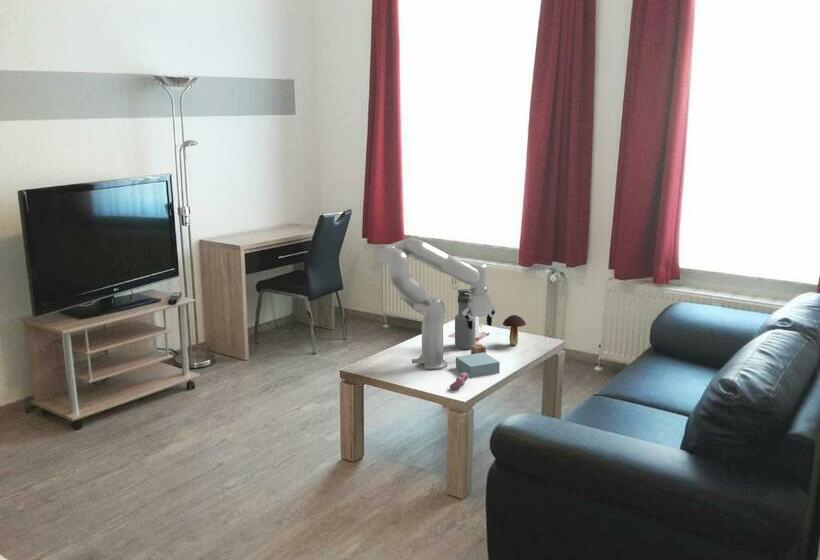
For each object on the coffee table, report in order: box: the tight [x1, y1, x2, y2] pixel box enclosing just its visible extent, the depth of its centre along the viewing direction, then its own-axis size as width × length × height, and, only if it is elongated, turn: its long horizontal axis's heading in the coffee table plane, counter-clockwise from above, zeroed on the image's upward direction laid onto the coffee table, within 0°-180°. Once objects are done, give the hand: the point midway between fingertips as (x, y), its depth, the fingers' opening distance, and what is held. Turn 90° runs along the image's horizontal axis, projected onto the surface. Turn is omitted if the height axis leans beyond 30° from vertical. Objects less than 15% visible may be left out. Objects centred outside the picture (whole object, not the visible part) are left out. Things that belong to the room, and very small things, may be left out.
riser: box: [455, 352, 501, 379], centre depth 322 cm, size 14×14×5 cm
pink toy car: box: [449, 372, 469, 391], centre depth 304 cm, size 10×5×7 cm, turn 158°
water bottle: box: [454, 288, 476, 350], centre depth 351 cm, size 10×10×28 cm
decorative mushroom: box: [502, 314, 527, 346], centre depth 353 cm, size 11×11×15 cm
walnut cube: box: [470, 343, 487, 355], centre depth 340 cm, size 5×5×5 cm
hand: (479, 326), depth 337 cm, fingers open, 9 cm apart
